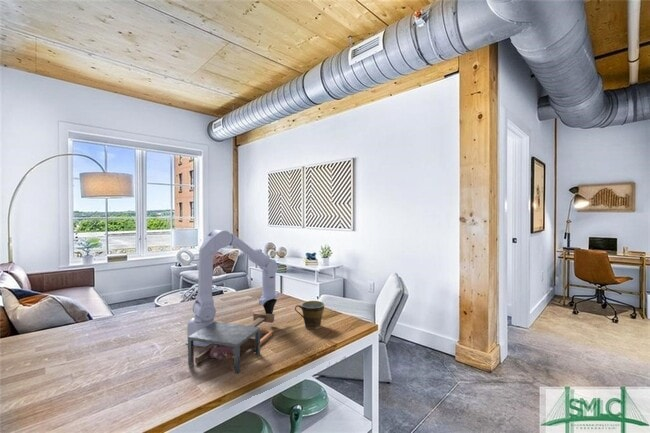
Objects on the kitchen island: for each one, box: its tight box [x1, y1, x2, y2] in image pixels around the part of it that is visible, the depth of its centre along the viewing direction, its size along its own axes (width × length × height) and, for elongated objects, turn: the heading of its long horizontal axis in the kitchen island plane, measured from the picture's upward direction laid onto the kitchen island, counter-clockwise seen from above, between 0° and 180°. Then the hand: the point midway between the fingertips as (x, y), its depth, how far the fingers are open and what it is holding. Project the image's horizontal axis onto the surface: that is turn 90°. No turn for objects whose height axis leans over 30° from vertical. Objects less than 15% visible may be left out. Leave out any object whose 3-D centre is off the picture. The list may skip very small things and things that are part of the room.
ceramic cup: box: [294, 300, 325, 331], centre depth 133 cm, size 13×10×10 cm
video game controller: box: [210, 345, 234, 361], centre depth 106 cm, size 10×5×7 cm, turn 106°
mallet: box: [194, 311, 275, 371], centre depth 116 cm, size 15×34×6 cm, turn 163°
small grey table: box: [187, 320, 261, 375], centre depth 105 cm, size 19×14×10 cm
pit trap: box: [252, 328, 274, 347], centre depth 121 cm, size 13×14×2 cm
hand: (269, 316), depth 136 cm, fingers closed
